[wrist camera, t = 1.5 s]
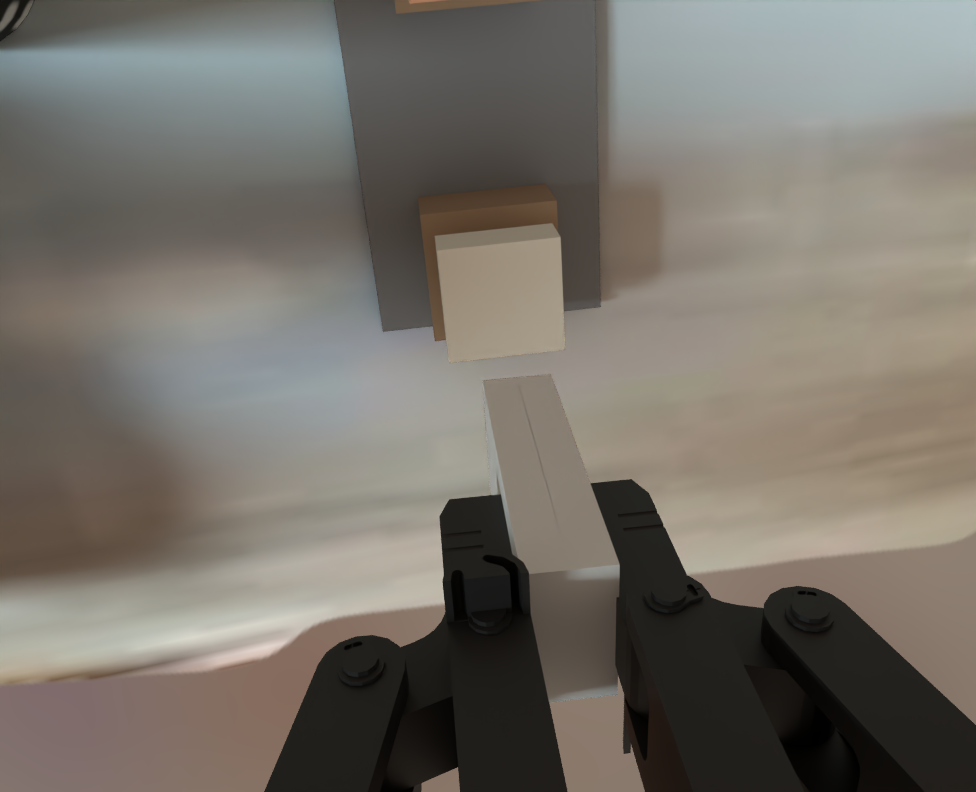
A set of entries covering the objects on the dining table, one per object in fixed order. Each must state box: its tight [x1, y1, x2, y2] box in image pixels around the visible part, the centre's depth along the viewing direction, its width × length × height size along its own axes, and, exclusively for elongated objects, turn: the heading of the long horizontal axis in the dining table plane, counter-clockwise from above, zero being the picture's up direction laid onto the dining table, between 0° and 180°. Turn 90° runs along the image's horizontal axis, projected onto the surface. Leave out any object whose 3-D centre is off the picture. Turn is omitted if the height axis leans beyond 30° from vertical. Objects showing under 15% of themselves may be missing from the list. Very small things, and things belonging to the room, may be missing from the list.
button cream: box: [435, 223, 565, 363], centre depth 38 cm, size 5×5×5 cm
